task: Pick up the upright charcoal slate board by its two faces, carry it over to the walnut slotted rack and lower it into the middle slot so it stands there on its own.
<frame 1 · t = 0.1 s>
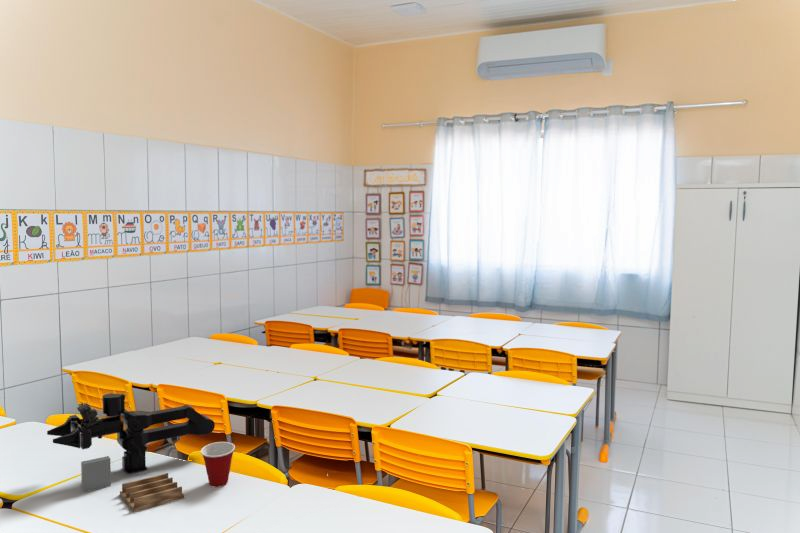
hand: (50, 436, 196), 17 cm above the table, tool horizontal, fingers open, 9 cm apart
slate: (96, 487, 199), on the table
plastic cup: (218, 484, 203), on the table
rack: (152, 496, 193), on the table
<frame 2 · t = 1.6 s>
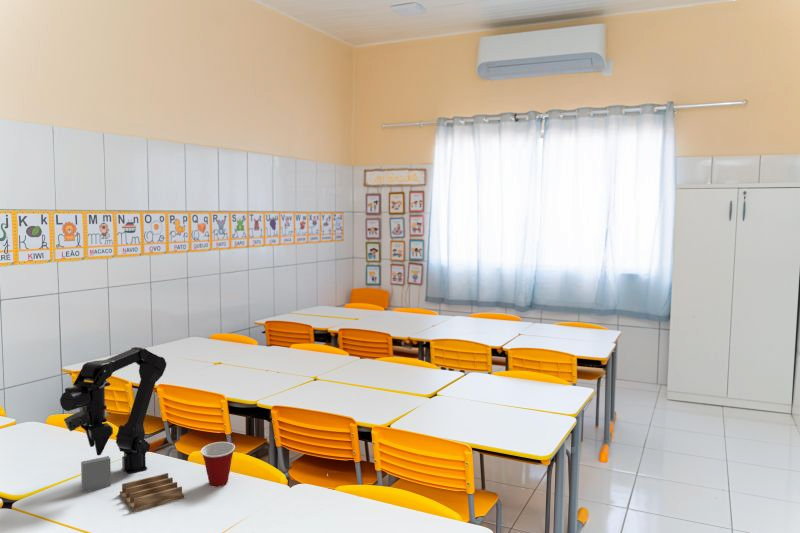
hand: (95, 450, 198), 12 cm above the table, tool pointing down, fingers open, 9 cm apart
nothing on the table moved.
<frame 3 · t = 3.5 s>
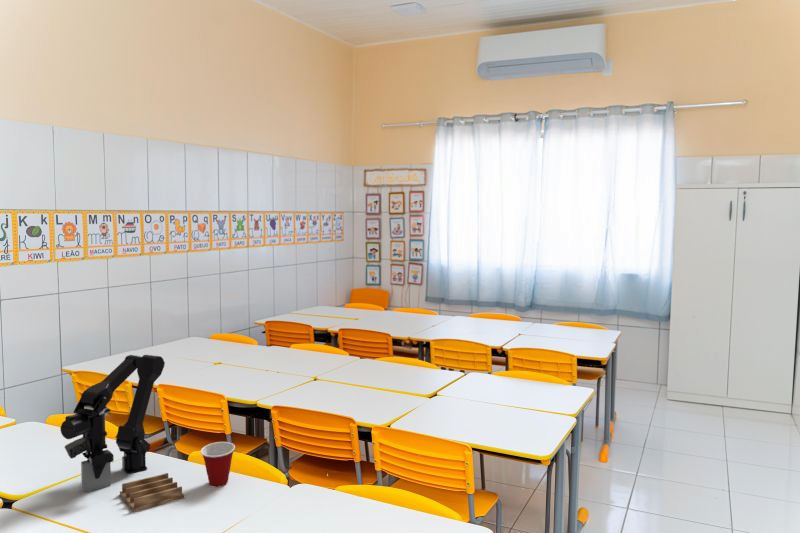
hand: (96, 476, 198), 3 cm above the table, tool pointing down, fingers closed on slate, 2 cm apart
slate: (96, 487, 199), on the table, touching gripper
everything else where it was.
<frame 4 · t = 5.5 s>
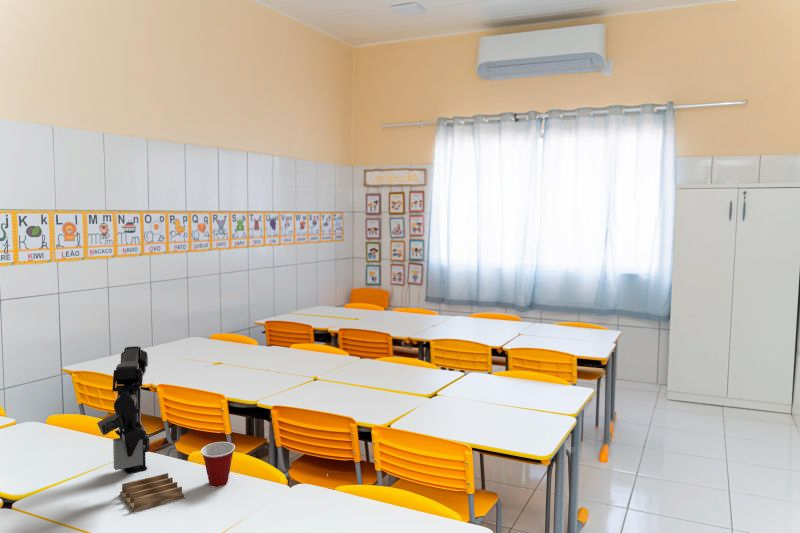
hand: (128, 455, 194), 12 cm above the table, tool pointing down, fingers closed on slate, 2 cm apart
slate: (128, 466, 194), point 9 cm above the table, touching gripper
everything else where it was.
when the fingers open (5 cm above the table, at t = 7.8 s): slate stays where it is, resting on rack.
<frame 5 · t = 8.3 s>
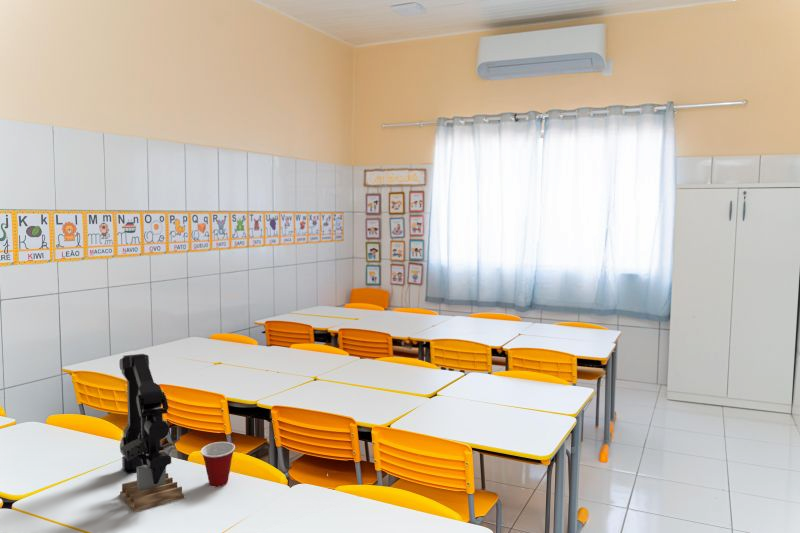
hand: (151, 479, 193), 5 cm above the table, tool pointing down, fingers open, 7 cm apart
slate: (151, 493, 193), point 1 cm above the table, touching rack
everything else where it was.
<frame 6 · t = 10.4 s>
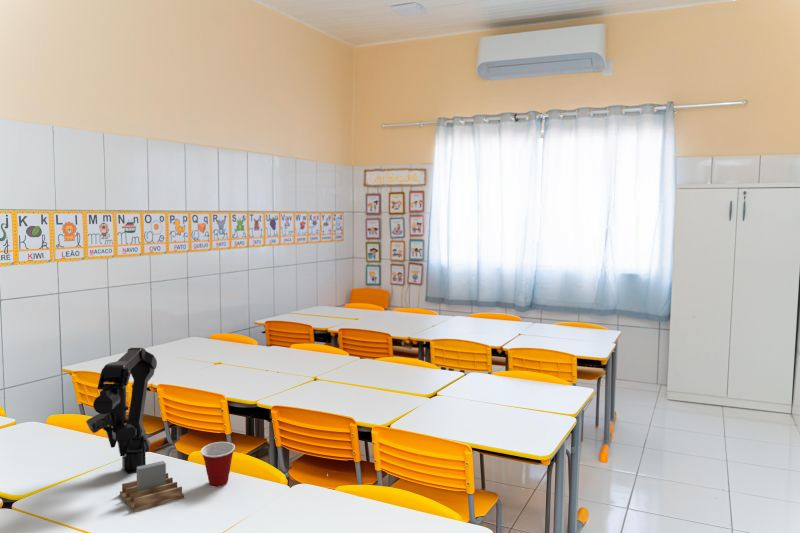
hand: (117, 451, 198), 12 cm above the table, tool pointing down, fingers open, 9 cm apart
nothing on the table moved.
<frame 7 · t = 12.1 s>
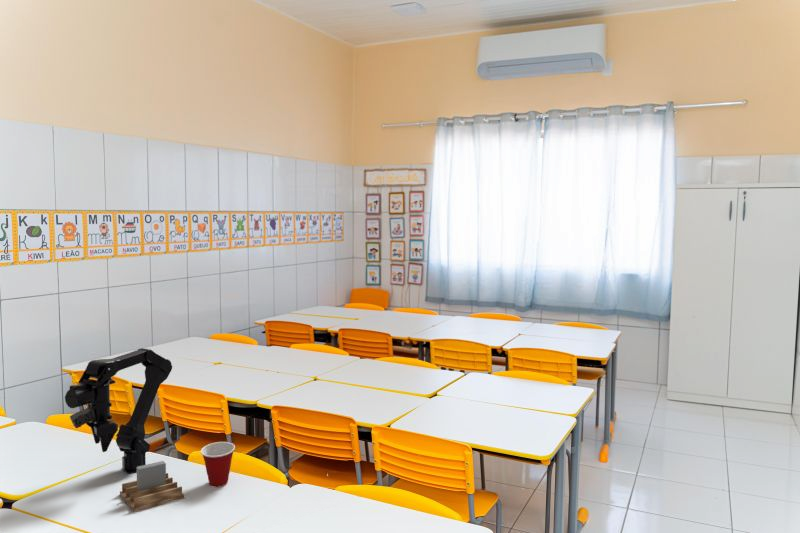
hand: (100, 447, 201), 12 cm above the table, tool pointing down, fingers open, 9 cm apart
nothing on the table moved.
at the end: slate 0.1 cm off-centre on the rack, point 1.0 cm above the rack's base; slate tilted 0°; the gripper is holding nothing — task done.
